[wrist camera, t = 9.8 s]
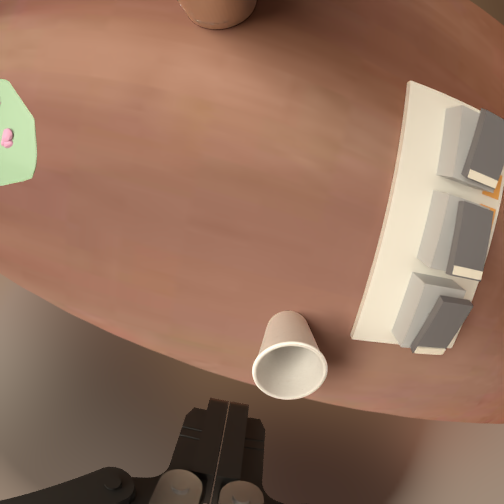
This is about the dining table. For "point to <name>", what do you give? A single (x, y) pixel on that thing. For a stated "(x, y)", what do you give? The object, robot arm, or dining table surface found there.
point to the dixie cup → (289, 358)
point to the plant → (15, 137)
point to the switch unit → (422, 219)
